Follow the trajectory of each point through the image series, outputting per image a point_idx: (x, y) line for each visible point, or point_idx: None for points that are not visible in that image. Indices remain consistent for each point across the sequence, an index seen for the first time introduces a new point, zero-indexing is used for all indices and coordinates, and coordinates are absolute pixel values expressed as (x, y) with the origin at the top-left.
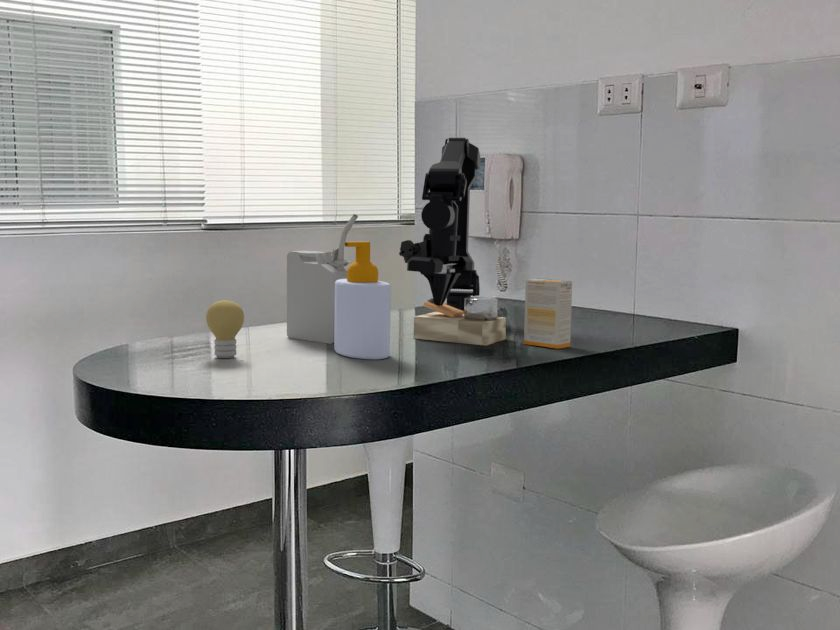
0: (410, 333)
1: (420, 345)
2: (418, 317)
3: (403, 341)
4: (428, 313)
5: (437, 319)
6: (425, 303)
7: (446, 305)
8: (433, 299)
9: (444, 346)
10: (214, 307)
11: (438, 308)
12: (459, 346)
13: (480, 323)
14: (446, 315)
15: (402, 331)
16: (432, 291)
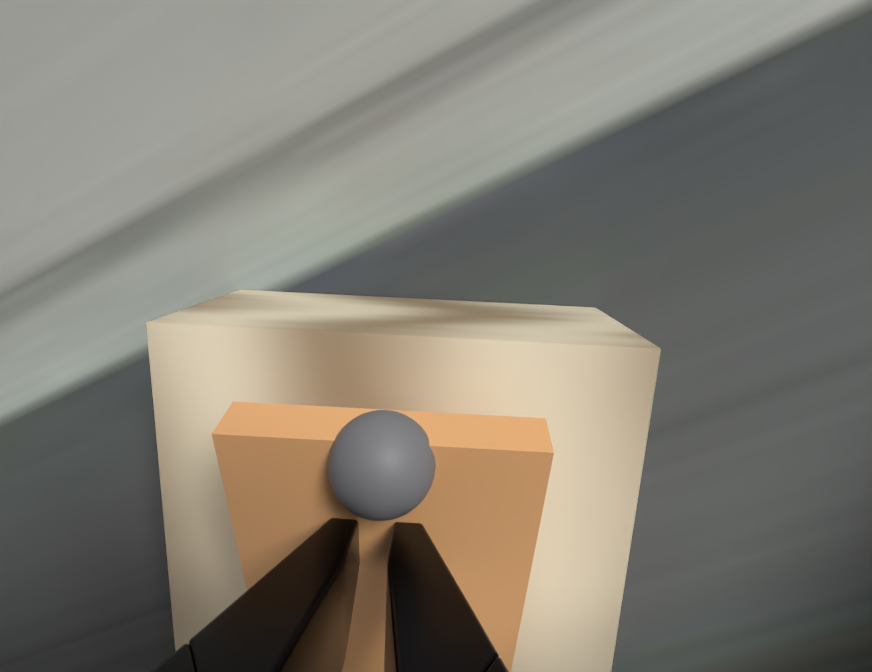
0: (463, 152)
1: (26, 444)
2: (152, 371)
3: (88, 283)
4: (463, 345)
5: (172, 553)
6: (220, 446)
7: (485, 587)
8: (295, 549)
9: (92, 570)
10: None
11: (246, 579)
12: (148, 635)
13: None
14: None
15: (533, 36)
16: (208, 642)
